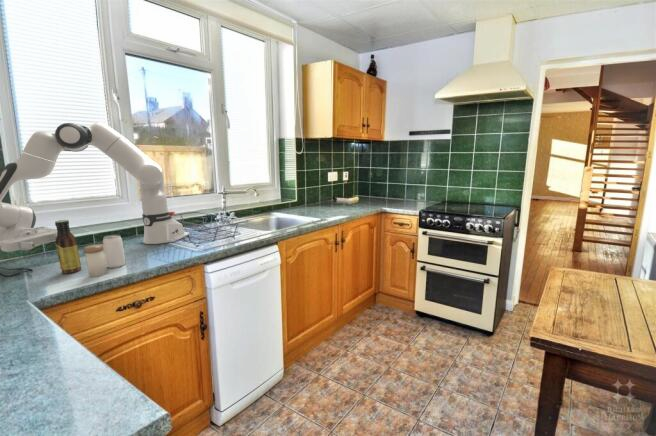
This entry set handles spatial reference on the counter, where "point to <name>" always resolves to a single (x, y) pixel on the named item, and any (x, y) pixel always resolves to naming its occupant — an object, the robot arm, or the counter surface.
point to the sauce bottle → (67, 248)
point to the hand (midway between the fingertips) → (46, 241)
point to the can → (113, 251)
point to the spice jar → (95, 260)
